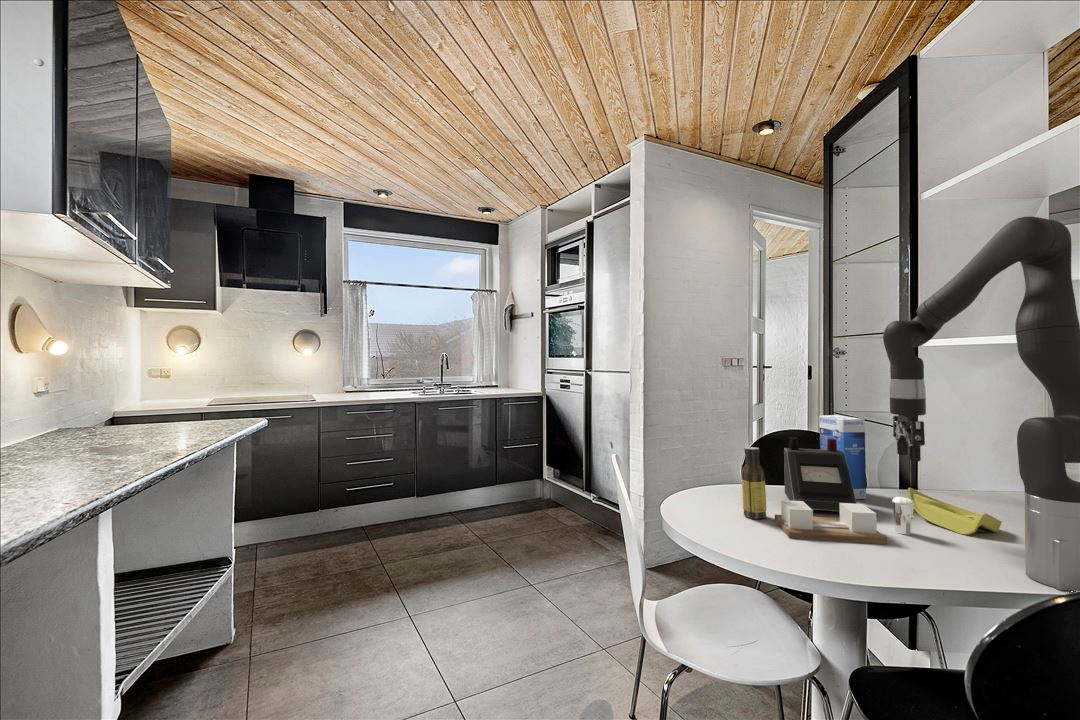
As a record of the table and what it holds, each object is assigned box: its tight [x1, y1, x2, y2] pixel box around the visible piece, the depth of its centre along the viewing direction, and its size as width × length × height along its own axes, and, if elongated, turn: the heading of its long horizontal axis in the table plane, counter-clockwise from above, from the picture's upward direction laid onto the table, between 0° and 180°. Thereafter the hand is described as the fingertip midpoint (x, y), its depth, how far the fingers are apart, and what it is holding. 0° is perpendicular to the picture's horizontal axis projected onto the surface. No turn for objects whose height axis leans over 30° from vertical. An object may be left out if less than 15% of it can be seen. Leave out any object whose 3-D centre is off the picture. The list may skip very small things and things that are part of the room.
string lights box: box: [818, 414, 867, 500], centre depth 159 cm, size 13×8×26 cm, turn 1°
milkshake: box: [891, 496, 915, 536], centre depth 123 cm, size 4×5×10 cm
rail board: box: [774, 514, 888, 545], centre depth 125 cm, size 14×22×2 cm, turn 77°
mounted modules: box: [780, 499, 878, 533], centre depth 125 cm, size 8×20×5 cm, turn 77°
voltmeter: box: [783, 436, 858, 512], centre depth 146 cm, size 16×16×20 cm
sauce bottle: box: [741, 446, 767, 520], centre depth 138 cm, size 6×6×20 cm
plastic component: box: [907, 487, 1003, 536], centre depth 131 cm, size 20×7×10 cm
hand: (908, 457), depth 125 cm, fingers open, 8 cm apart
